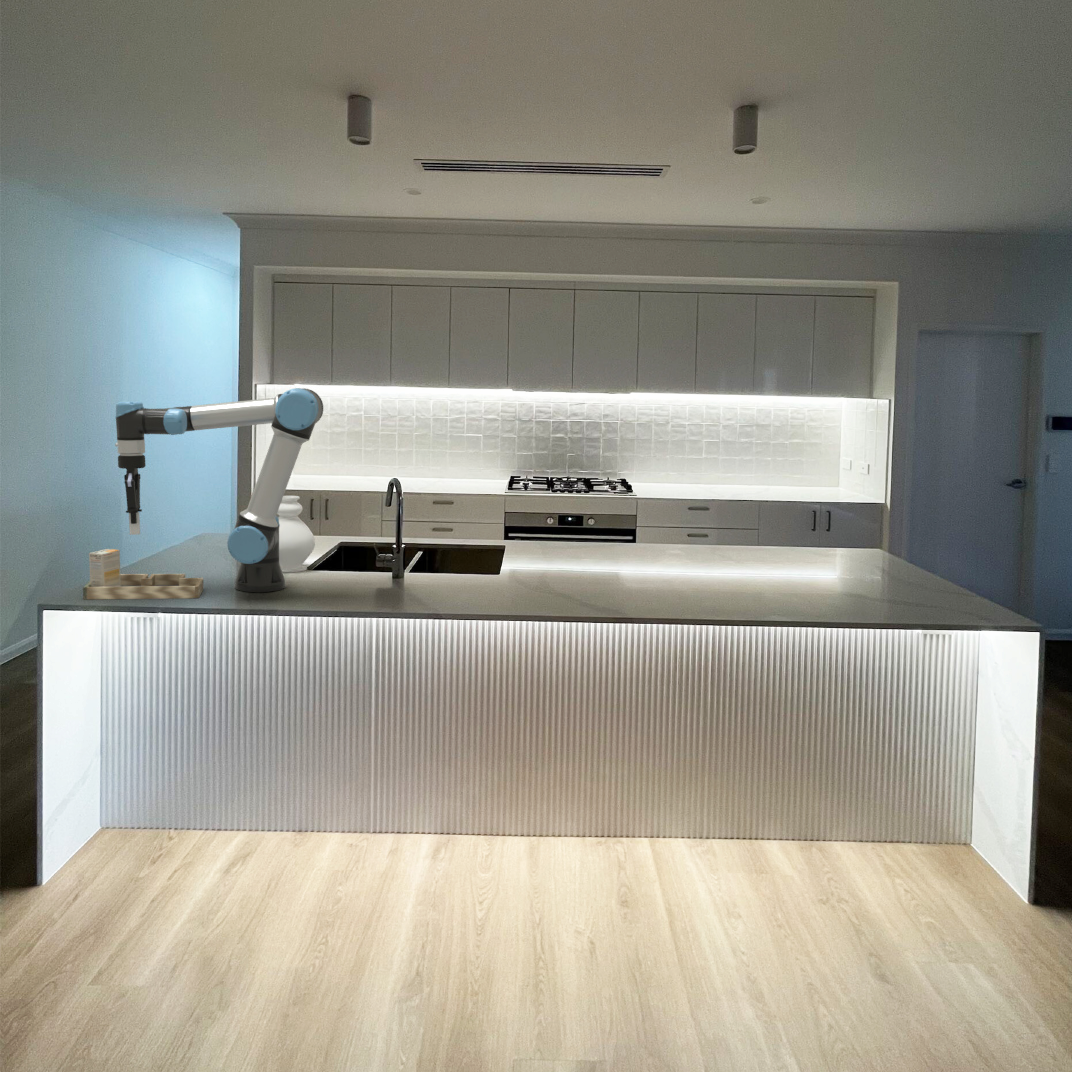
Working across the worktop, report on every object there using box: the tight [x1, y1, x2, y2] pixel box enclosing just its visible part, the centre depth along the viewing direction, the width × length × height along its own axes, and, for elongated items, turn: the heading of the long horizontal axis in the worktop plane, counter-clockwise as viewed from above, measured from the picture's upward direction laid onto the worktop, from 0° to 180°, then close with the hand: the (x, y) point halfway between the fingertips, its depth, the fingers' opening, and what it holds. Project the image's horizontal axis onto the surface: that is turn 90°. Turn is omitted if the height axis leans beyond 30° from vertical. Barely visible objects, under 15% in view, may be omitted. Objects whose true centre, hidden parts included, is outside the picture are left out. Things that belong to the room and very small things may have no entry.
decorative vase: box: [277, 495, 316, 573], centre depth 368 cm, size 18×18×25 cm
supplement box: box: [88, 548, 121, 587], centre depth 319 cm, size 8×5×13 cm, turn 164°
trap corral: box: [82, 573, 204, 600], centre depth 325 cm, size 32×21×4 cm, turn 102°
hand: (135, 534), depth 319 cm, fingers closed
